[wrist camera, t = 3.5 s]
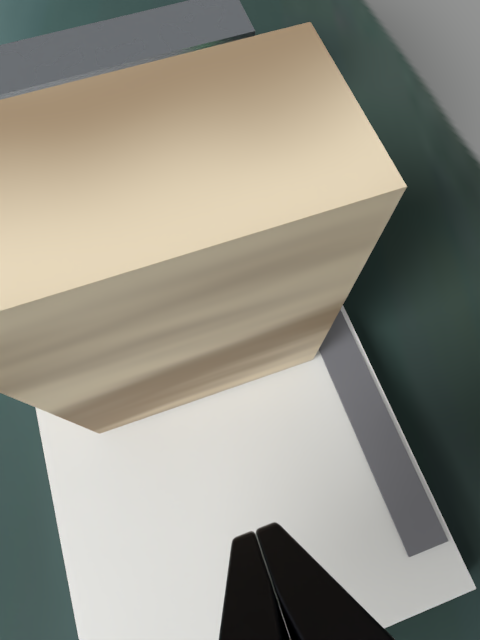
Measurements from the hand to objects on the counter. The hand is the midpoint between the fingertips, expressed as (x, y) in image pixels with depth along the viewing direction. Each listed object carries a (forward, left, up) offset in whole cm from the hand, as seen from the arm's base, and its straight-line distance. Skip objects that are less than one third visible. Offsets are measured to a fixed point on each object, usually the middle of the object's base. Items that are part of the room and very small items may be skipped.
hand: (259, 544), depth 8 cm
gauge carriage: (+5, -3, -7) cm, 10 cm away
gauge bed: (+6, -4, -8) cm, 11 cm away
